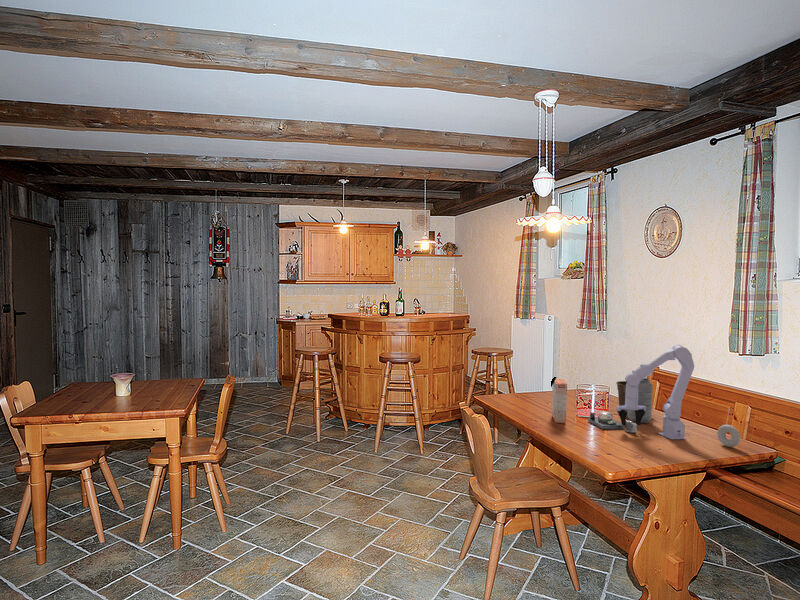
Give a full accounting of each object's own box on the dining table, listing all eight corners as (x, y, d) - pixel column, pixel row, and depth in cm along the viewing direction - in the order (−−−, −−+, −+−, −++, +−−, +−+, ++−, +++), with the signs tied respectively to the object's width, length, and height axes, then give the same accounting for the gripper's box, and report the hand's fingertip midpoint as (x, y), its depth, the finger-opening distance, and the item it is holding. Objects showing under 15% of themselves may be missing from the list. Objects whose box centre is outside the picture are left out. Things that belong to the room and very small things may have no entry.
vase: (646, 418, 273) (647, 377, 272) (655, 425, 261) (656, 381, 260) (624, 418, 274) (625, 376, 273) (631, 424, 263) (633, 380, 262)
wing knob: (639, 433, 246) (639, 423, 245) (630, 433, 245) (630, 423, 245) (630, 429, 253) (631, 419, 252) (621, 429, 252) (622, 419, 252)
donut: (741, 449, 225) (742, 427, 224) (736, 450, 223) (737, 428, 223) (719, 442, 234) (720, 421, 233) (714, 443, 232) (715, 422, 232)
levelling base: (624, 428, 254) (625, 417, 253) (602, 429, 252) (602, 417, 252) (609, 421, 267) (609, 410, 267) (588, 421, 266) (588, 410, 265)
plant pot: (620, 406, 300) (620, 379, 299) (649, 411, 290) (650, 383, 289) (611, 411, 287) (612, 383, 287) (642, 416, 277) (643, 387, 277)
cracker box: (566, 423, 261) (567, 384, 260) (554, 423, 262) (555, 383, 262) (563, 416, 275) (564, 378, 274) (551, 416, 276) (552, 378, 275)
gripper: (640, 395, 253) (639, 422, 254) (613, 395, 251) (612, 422, 251) (649, 398, 246) (647, 426, 247) (621, 399, 244) (620, 426, 244)
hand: (630, 424), depth 249 cm, fingers open, 7 cm apart
